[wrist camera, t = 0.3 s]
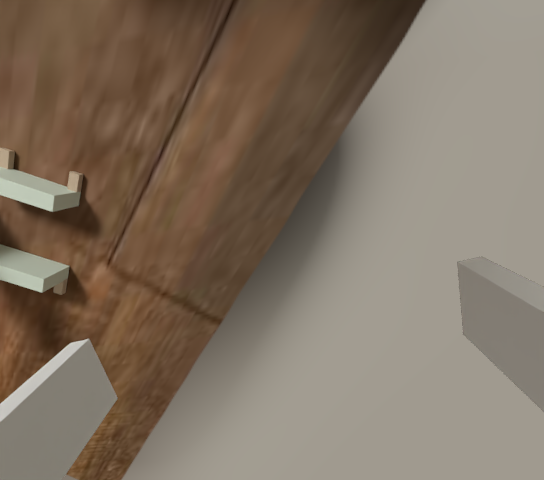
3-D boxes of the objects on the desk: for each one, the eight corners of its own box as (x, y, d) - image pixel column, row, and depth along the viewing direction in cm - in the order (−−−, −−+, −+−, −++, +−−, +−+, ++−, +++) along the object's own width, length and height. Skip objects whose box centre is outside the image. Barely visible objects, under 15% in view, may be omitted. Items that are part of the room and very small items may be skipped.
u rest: (-4, 270, 41) (-38, 284, 36) (5, 148, 36) (-33, 146, 32) (65, 292, 41) (40, 308, 37) (83, 174, 37) (56, 176, 32)
